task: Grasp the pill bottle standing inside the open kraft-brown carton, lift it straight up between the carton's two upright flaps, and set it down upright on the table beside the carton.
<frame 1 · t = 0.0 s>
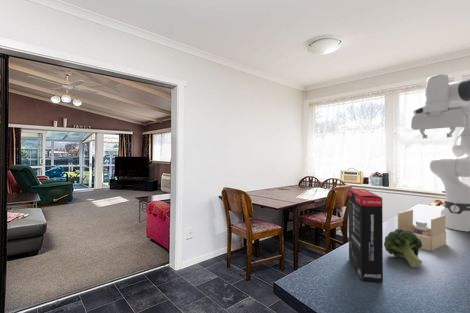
hand: (436, 137, 116), 48 cm above the kitchen counter, tool pointing down, fingers open, 8 cm apart
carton: (421, 242, 111), on the kitchen counter
pill bottle: (421, 243, 111), resting in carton
graphics card box: (363, 271, 84), on the kitchen counter
vegetable: (405, 261, 92), on the kitchen counter
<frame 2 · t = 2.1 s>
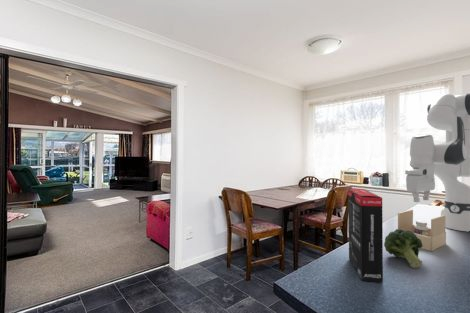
hand: (421, 201, 110), 19 cm above the kitchen counter, tool pointing down, fingers open, 8 cm apart
nothing on the kitchen counter moved.
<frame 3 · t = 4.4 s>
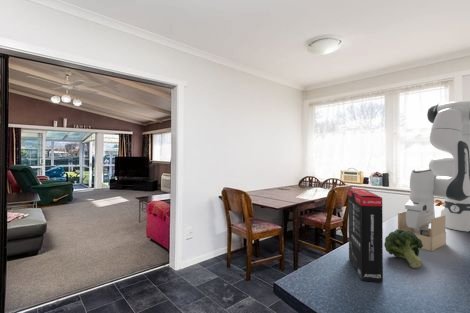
hand: (421, 234, 110), 4 cm above the kitchen counter, tool pointing down, fingers closed on pill bottle, 5 cm apart
pill bottle: (421, 243, 111), resting in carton, touching gripper
everything else where it was.
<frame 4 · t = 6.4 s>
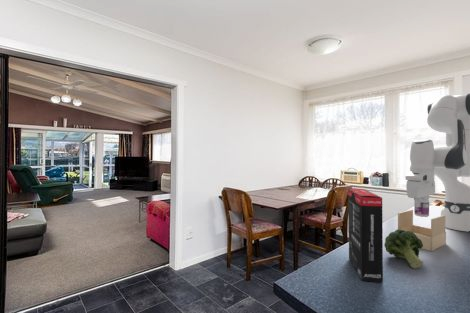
hand: (421, 205, 111), 17 cm above the kitchen counter, tool pointing down, fingers closed on pill bottle, 5 cm apart
pill bottle: (421, 216, 111), point 12 cm above the kitchen counter, touching gripper
everything else where it was.
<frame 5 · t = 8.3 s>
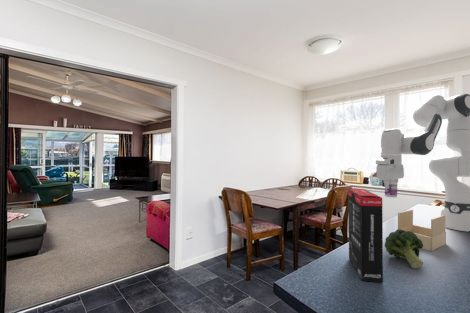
hand: (390, 188, 123), 23 cm above the kitchen counter, tool pointing down, fingers closed on pill bottle, 5 cm apart
pill bottle: (390, 197, 123), point 18 cm above the kitchen counter, touching gripper
everything else where it was.
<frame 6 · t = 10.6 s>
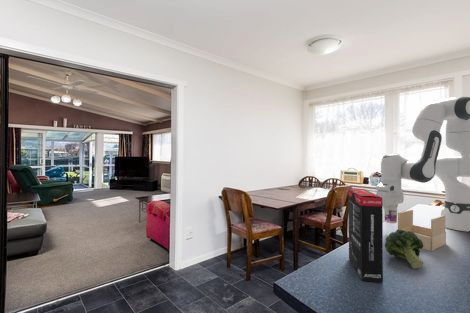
hand: (390, 213, 123), 10 cm above the kitchen counter, tool pointing down, fingers closed on pill bottle, 5 cm apart
pill bottle: (390, 222, 123), point 6 cm above the kitchen counter, touching gripper
everything else where it was.
when the fingers open (5 cm above the kitchen counter, at t = 12.6 s): pill bottle stays where it is, on the kitchen counter.
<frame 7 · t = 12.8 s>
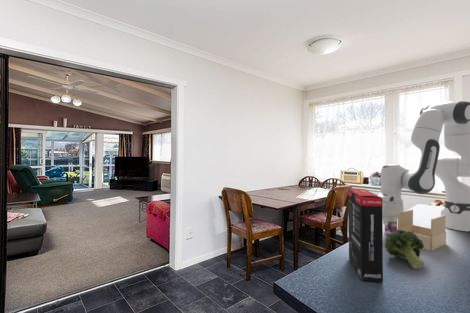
hand: (390, 223, 123), 5 cm above the kitchen counter, tool pointing down, fingers open, 7 cm apart
pill bottle: (390, 233, 124), on the kitchen counter
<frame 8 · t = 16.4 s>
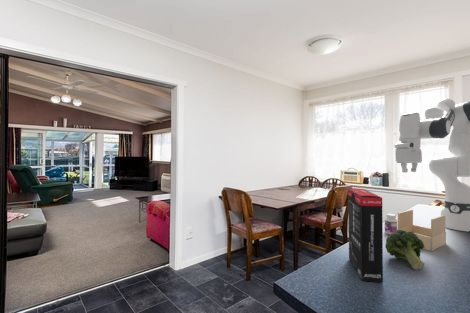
hand: (409, 172, 123), 31 cm above the kitchen counter, tool pointing down, fingers open, 8 cm apart
at the end: pill bottle inside the target area (0.3 cm from its centre), on the kitchen counter; pill bottle tilted 0°; pill bottle touching kitchen counter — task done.
